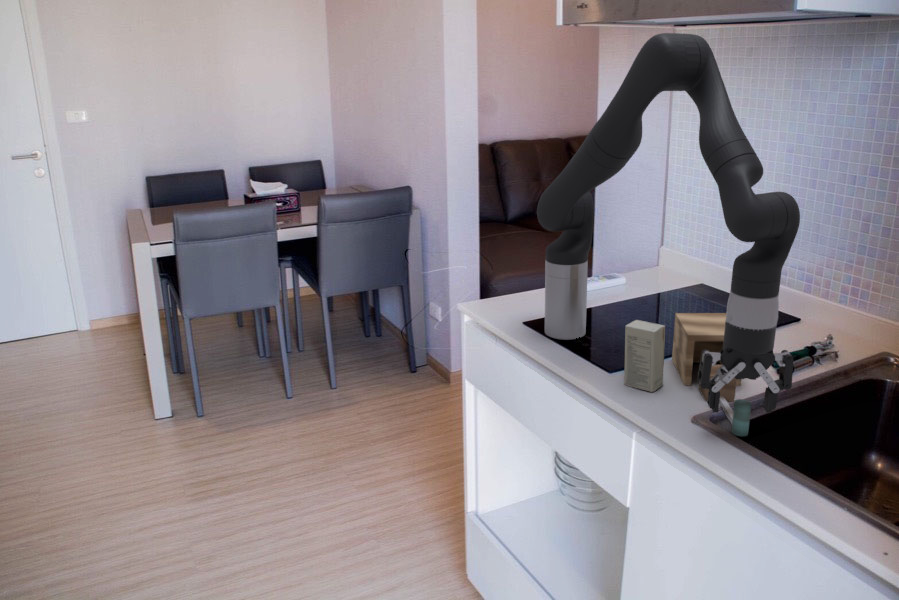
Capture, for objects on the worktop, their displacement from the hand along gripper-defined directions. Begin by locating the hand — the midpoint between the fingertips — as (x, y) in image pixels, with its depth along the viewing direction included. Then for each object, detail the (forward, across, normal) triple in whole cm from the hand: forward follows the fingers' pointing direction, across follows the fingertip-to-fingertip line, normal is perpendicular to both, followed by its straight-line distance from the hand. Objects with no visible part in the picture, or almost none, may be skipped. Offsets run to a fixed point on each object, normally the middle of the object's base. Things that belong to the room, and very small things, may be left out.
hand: (740, 410), depth 123 cm
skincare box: (+4, +13, -18) cm, 22 cm away
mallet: (+4, 0, -7) cm, 8 cm away
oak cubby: (+4, 0, -24) cm, 24 cm away
